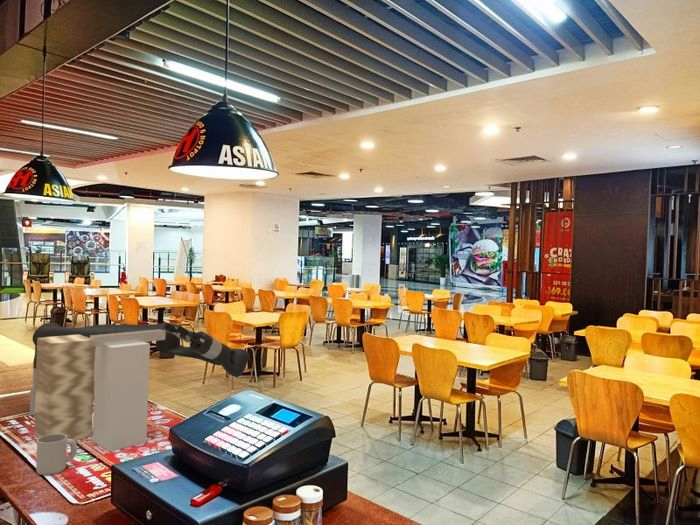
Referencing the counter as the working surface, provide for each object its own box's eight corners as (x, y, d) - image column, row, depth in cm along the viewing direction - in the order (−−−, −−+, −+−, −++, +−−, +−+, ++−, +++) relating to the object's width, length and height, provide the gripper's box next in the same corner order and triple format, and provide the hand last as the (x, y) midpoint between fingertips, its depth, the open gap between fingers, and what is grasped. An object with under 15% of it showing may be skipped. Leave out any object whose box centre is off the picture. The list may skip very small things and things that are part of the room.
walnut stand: (48, 446, 161) (51, 343, 160) (34, 435, 170) (37, 337, 169) (91, 436, 171) (94, 339, 170) (76, 426, 179) (79, 334, 179)
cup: (33, 468, 145) (34, 437, 145) (73, 460, 151) (74, 430, 151) (38, 477, 139) (39, 444, 139) (79, 468, 146) (80, 437, 146)
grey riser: (109, 451, 159) (112, 347, 158) (92, 441, 166) (95, 342, 166) (146, 442, 167) (149, 343, 167) (129, 432, 175) (132, 338, 175)
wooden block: (95, 347, 158) (95, 337, 158) (89, 345, 161) (90, 335, 161) (165, 339, 175) (165, 330, 175) (159, 338, 178) (159, 329, 178)
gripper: (200, 333, 196) (166, 314, 185) (222, 338, 186) (187, 319, 175) (190, 352, 193) (155, 334, 182) (212, 358, 183) (176, 339, 173)
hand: (171, 326), depth 179 cm, fingers open, 8 cm apart
